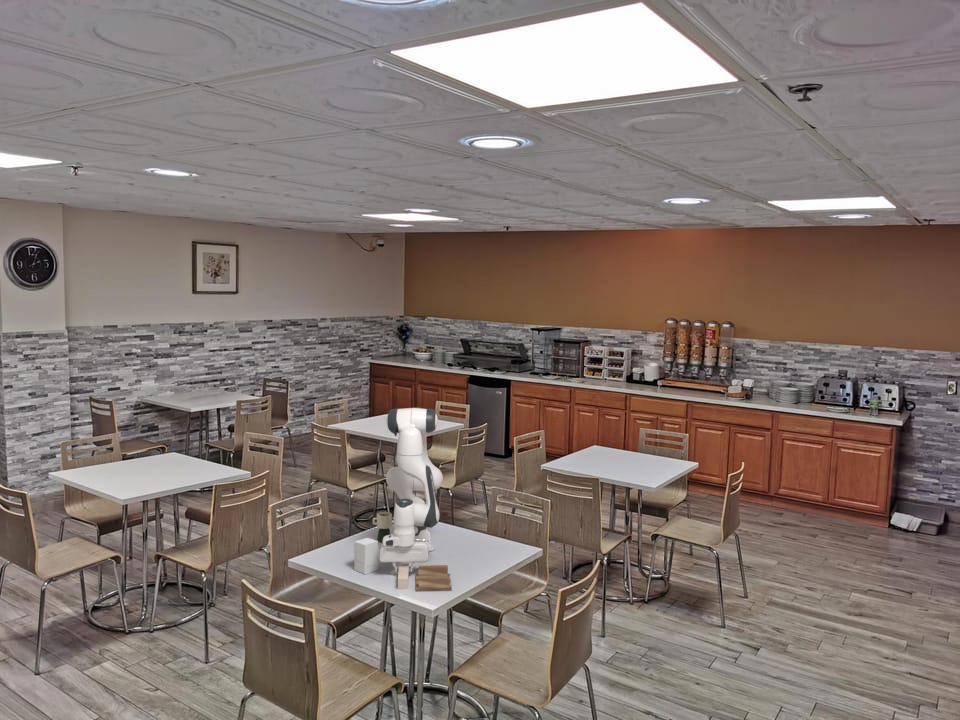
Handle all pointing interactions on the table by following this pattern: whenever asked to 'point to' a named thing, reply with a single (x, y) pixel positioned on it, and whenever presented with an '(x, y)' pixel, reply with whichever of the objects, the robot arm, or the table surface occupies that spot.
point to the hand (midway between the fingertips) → (403, 571)
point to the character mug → (383, 524)
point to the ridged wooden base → (433, 578)
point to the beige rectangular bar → (403, 576)
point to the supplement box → (366, 555)
